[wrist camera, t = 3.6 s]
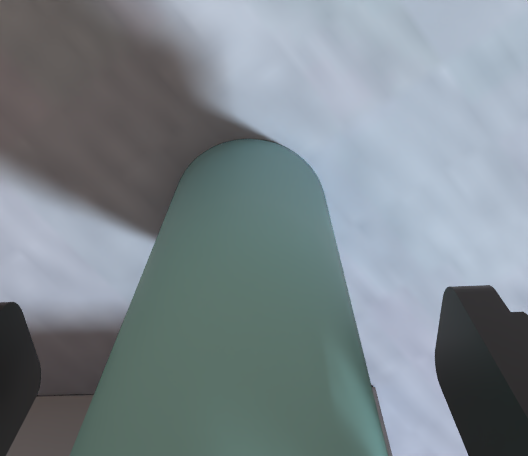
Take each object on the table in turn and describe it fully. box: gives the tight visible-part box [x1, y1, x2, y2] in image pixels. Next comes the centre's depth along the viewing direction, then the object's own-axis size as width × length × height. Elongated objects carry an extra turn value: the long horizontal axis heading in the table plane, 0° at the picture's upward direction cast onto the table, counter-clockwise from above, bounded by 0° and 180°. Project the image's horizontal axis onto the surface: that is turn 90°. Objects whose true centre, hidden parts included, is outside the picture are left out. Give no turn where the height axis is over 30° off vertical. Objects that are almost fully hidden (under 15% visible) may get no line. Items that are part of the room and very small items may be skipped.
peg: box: [69, 139, 388, 456], centre depth 10 cm, size 4×4×10 cm
